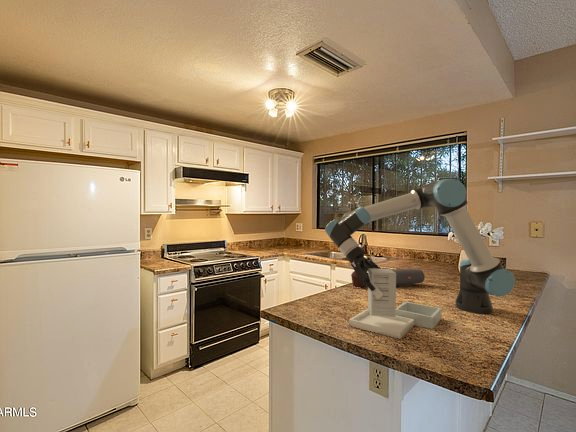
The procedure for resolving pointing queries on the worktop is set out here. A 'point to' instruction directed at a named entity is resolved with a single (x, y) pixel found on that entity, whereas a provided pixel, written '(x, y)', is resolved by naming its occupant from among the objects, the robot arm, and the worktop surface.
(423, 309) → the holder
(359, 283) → the muffin
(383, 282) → the supplement box
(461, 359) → the worktop surface
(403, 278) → the bluetooth speaker
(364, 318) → the tray
